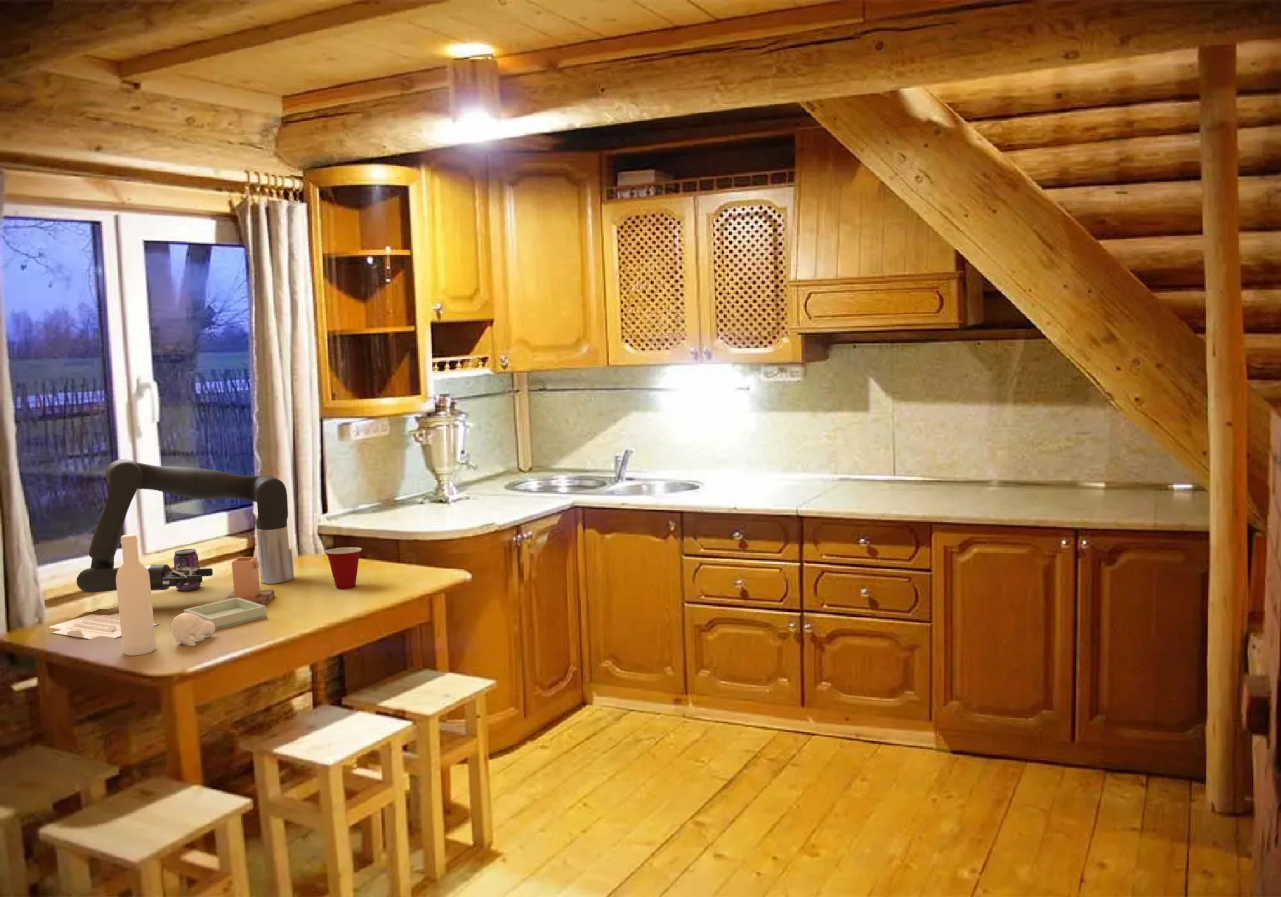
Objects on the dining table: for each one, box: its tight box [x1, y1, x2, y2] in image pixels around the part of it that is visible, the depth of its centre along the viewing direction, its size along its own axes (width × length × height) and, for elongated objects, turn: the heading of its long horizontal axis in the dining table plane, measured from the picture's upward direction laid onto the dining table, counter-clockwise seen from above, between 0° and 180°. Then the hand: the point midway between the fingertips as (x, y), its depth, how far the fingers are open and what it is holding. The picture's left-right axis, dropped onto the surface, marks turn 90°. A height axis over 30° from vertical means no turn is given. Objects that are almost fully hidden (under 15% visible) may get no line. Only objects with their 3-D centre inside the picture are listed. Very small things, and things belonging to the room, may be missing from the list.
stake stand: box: [221, 589, 276, 606], centre depth 330 cm, size 12×12×8 cm
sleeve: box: [231, 556, 261, 598], centre depth 329 cm, size 6×6×11 cm
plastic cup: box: [324, 546, 362, 590], centre depth 344 cm, size 11×11×12 cm
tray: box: [183, 597, 267, 631], centre depth 312 cm, size 16×16×3 cm
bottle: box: [116, 533, 157, 657], centre depth 284 cm, size 8×8×30 cm
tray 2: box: [48, 612, 160, 640], centre depth 310 cm, size 20×28×4 cm
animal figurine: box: [170, 612, 216, 647], centre depth 292 cm, size 6×8×12 cm
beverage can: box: [173, 548, 202, 592], centre depth 349 cm, size 7×7×12 cm
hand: (207, 575), depth 329 cm, fingers open, 8 cm apart
